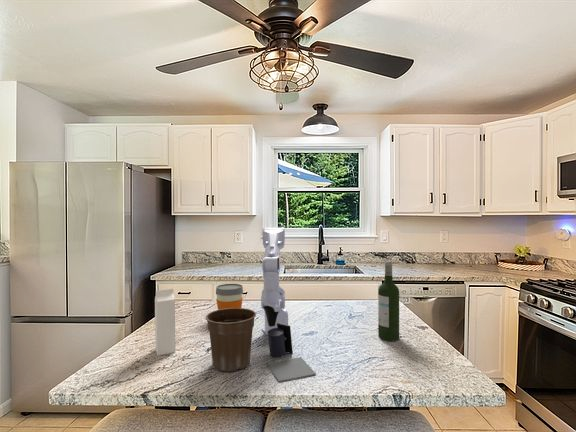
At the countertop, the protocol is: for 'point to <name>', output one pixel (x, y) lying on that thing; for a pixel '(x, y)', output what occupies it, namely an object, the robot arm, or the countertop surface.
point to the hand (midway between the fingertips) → (271, 325)
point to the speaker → (280, 341)
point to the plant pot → (230, 337)
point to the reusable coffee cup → (229, 296)
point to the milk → (164, 322)
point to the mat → (290, 369)
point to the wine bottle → (388, 307)
